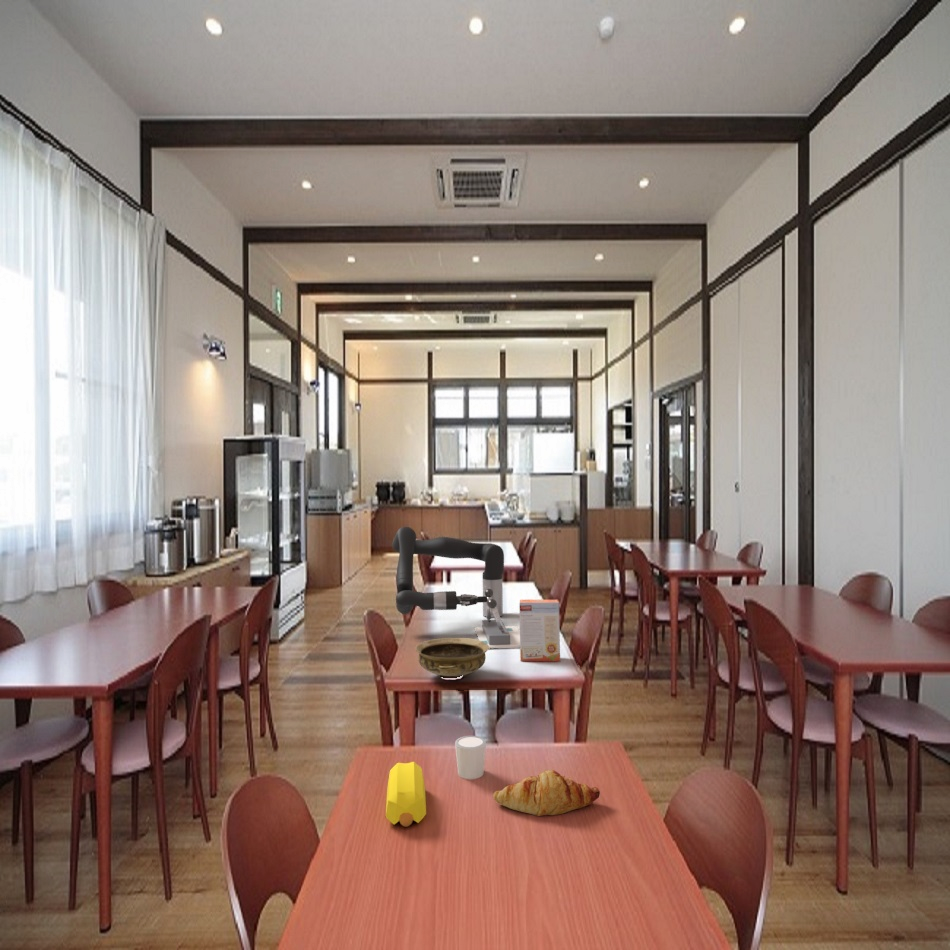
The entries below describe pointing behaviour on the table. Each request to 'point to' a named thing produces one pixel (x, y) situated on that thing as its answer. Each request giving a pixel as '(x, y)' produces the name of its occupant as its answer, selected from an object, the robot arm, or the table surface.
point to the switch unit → (498, 635)
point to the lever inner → (488, 594)
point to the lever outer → (496, 614)
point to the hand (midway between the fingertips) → (486, 599)
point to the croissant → (546, 794)
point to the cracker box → (539, 630)
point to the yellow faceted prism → (405, 794)
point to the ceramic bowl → (452, 656)
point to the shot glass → (470, 756)
